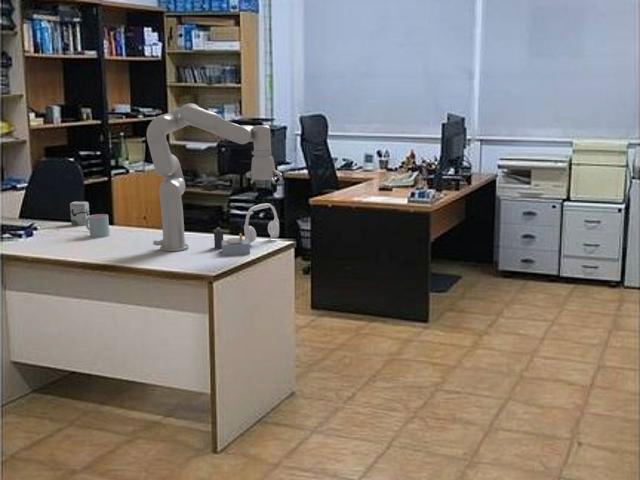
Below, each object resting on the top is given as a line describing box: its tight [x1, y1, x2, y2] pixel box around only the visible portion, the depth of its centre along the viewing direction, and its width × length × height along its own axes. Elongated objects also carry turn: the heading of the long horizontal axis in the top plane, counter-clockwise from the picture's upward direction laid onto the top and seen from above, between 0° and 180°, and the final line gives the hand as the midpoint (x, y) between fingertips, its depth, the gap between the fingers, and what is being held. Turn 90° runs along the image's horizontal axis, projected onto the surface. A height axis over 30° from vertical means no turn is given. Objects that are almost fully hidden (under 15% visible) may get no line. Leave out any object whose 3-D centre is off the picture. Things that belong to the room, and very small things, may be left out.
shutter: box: [227, 232, 243, 244], centre depth 362 cm, size 6×8×3 cm
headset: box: [243, 203, 280, 245], centre depth 381 cm, size 20×7×18 cm, turn 138°
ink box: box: [69, 201, 90, 226], centre depth 437 cm, size 9×5×12 cm, turn 81°
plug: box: [213, 227, 224, 250], centre depth 372 cm, size 4×4×9 cm
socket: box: [221, 238, 251, 256], centre depth 363 cm, size 12×10×4 cm
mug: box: [85, 213, 110, 239], centre depth 406 cm, size 14×9×10 cm
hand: (264, 192), depth 366 cm, fingers open, 9 cm apart
